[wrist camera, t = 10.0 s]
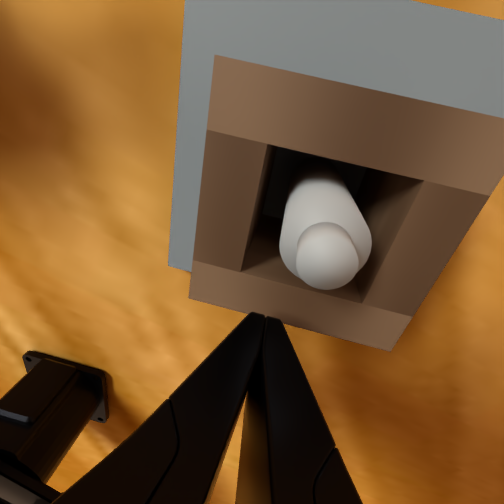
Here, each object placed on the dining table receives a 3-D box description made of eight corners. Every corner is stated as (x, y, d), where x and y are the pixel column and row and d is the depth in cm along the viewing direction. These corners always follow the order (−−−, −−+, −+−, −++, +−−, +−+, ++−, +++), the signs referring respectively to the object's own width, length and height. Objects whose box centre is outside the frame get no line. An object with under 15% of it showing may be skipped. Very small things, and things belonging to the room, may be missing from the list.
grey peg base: (388, 313, 15) (459, 486, 8) (175, 256, 16) (76, 374, 9) (547, 41, 9) (1253, -143, 2) (198, -34, 10) (-48, -360, 3)
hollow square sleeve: (226, 234, 13) (188, 298, 9) (252, 76, 10) (214, 53, 6) (361, 268, 13) (390, 351, 9) (431, 116, 10) (535, 125, 5)
